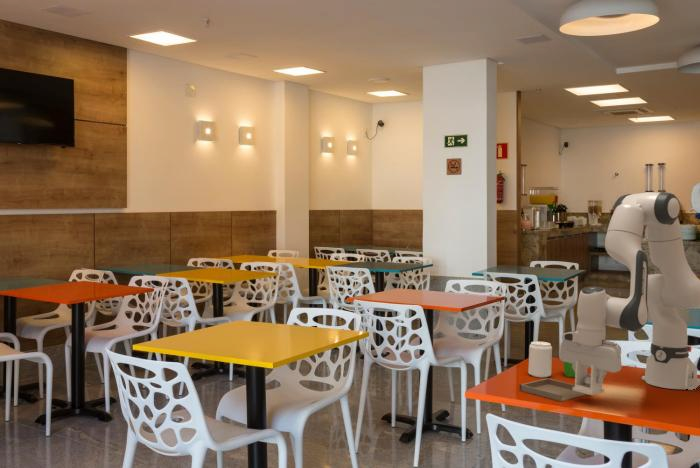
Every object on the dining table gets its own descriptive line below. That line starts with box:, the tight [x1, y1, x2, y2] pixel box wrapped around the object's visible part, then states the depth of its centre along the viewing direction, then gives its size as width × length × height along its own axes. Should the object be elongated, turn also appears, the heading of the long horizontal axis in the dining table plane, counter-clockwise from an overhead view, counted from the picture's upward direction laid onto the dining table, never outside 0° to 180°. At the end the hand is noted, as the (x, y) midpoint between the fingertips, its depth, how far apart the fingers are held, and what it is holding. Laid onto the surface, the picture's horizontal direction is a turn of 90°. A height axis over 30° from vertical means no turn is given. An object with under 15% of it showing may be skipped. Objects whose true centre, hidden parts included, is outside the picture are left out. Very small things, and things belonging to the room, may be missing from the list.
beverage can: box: [528, 340, 553, 379], centre depth 251 cm, size 8×8×12 cm
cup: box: [559, 344, 575, 378], centre depth 252 cm, size 9×9×11 cm
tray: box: [518, 377, 588, 402], centre depth 228 cm, size 16×16×2 cm
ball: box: [583, 373, 591, 387], centre depth 218 cm, size 4×4×4 cm
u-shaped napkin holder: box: [572, 361, 605, 396], centre depth 218 cm, size 7×7×10 cm
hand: (588, 380), depth 218 cm, fingers closed on u-shaped napkin holder, 6 cm apart
